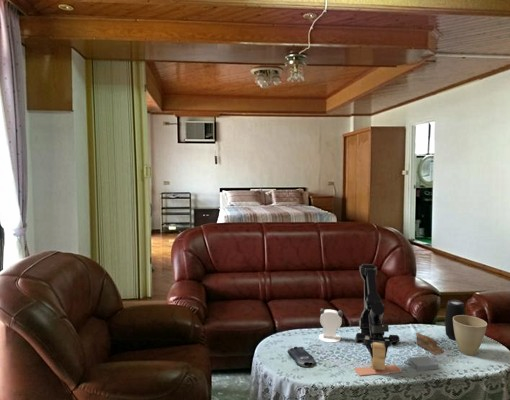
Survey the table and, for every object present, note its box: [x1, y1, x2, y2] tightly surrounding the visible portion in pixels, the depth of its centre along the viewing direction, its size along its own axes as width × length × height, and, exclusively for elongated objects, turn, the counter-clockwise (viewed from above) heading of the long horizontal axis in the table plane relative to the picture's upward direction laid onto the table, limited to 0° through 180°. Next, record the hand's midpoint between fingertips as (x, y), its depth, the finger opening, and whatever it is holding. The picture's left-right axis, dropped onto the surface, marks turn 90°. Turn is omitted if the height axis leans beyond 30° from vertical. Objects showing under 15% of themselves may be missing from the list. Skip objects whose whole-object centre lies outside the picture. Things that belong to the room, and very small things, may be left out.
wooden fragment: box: [415, 332, 445, 355], centre depth 213 cm, size 26×11×1 cm, turn 175°
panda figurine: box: [318, 307, 344, 343], centre depth 218 cm, size 12×11×15 cm
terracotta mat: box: [353, 364, 403, 377], centre depth 185 cm, size 20×6×1 cm, turn 101°
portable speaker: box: [444, 299, 466, 341], centre depth 219 cm, size 9×9×20 cm
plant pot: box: [453, 314, 488, 356], centre depth 202 cm, size 15×15×16 cm
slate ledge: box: [407, 356, 439, 372], centre depth 190 cm, size 10×8×2 cm
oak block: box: [370, 341, 386, 370], centre depth 184 cm, size 5×5×10 cm
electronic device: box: [287, 346, 316, 368], centre depth 195 cm, size 9×6×15 cm
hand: (378, 358), depth 183 cm, fingers closed on oak block, 5 cm apart
